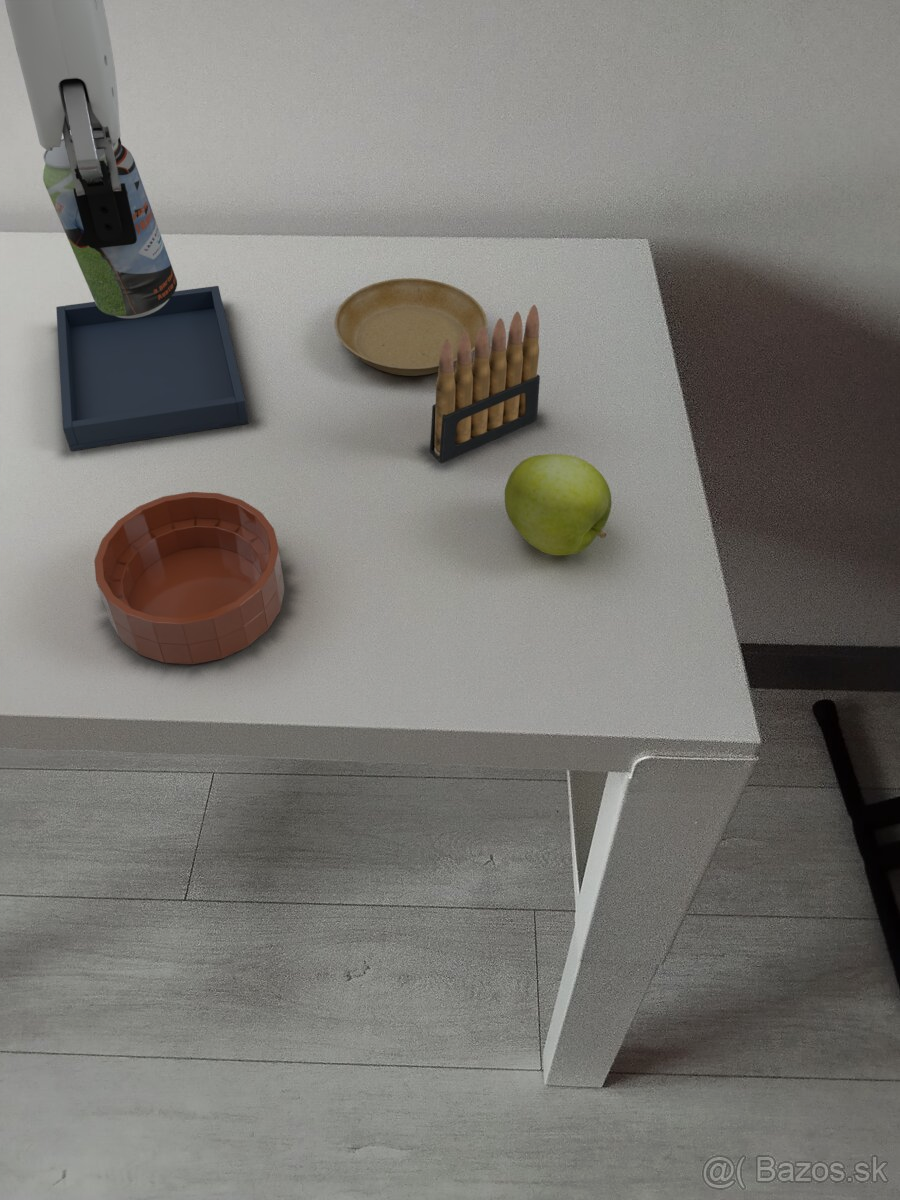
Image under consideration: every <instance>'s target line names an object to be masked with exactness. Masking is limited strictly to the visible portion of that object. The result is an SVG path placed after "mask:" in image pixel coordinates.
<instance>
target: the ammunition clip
mask: <svg viewBox="0 0 900 1200" xmlns="http://www.w3.org/2000/svg"><path fill="white" fill-rule="evenodd" d="M505 326H506V325H505V322H504V319H503V318H502V317H499V318H498V320H497V321H496V323H495V326H494V329H493V331H492V337H491V344H490V340H489V339H490V338H489V334H488V329H487V330H486V327H485V326H484V325H482V326H481V328H480V330H479V332H478V335H477V338H476V343H475V350H474V354H473V362H472V353H471V345H470V340H469V336H468V334H467V333H466V332H464V333H463V335H462V337H461V339H460V342H459V346H458V352H457V361H456V364H455V365H454V361H453V352H452V347H451V344H450V342H449V340H448V339H446V340H445V342H444V344H443V346H442V349H441V353H440V359H439V369H438V372H437V378H436V382H435V403H434V404H432V407H431V411H432V412H431V425H430V440H429V452H430V453H431V455H432V456H433V457H435V458H436V459H437V461H438V462H440V463H441V464H443V463H445V462H448V461H450V460H452V459H454V458H456V457H459V456H461V455H463V454H466V453H467V452H471V451H472V450H475V449H476V448H479V447H482V446H483V445H485V444H488V443H490V442H492V441H494V440H497V439H499V438H501V437H504V436H506V435H508V434H510V433H513V432H515V431H517V430H520V429H521V428H523V427H526V426H529V425H531V424H533V423H535V422H537V420H538V410H539V395H540V383H541V382H540V380H541V376H540V375H539V374H538V369H539V368H538V367H539V359H540V357H539V356H540V345H539V339H540V338H539V337H540V335H539V333H540V316H539V311H538V308H537V306H536V304H533V305H532V306H531V308H530V309H529V311H528V314H527V317H526V321H525V326H523V320H522V317H521V314H520V312H519V311H516V312H515V313H514V314H513V317H512V319H511V322H510V326H509V329H508V336H507V332H506V327H505ZM523 327H524V329H523ZM490 345H491V346H490ZM454 366H455V368H454Z"/></svg>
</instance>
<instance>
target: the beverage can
mask: <svg viewBox="0 0 900 1200" xmlns="http://www.w3.org/2000/svg"><path fill="white" fill-rule="evenodd" d="M93 132H94V137H95V138H98V137H104V136H103V131H93ZM71 138H72V135H71ZM113 150H114V155H115V160H116V165H117V169H118V174H119V179H120V184H121V183H125V186H126V191H127V195H128V200H129V204H130V208H131V213H132V217H133V222H134V226H135V231H136V236H137V241H136V243H134V244H131V245H122V246H113V247H104V248H95V249H93V248H90V247H89V246H88V244H87V240H86V237H85V233H84V229H83V225H82V222H81V218H80V214H79V210H78V207H77V203H76V199H75V195H74V189H73V188H75V185H74V181H73V177H72V172H71V168H70V163H69V159H68V155H67V150H66V148H65V141H64V137H63V138H61V144H60V147H53V149H52V151H48V150H46V149H45V151H44V153H43V154H42V155H43V157H42V158H43V161H44V163H45V164H44V168H43V175H42V181H43V183H44V186H45V189H46V191H47V193H48V195H49V198H50V201H51V203H52V206H53V207H54V210H55V212H56V214H57V216H58V220H59V222H60V224H61V226H62V229H63V231H64V234H65V235H66V238H67V240H68V242H69V246H70V247H71V249H72V252H73V254H74V257H75V259H76V261H77V264H78V266H79V268H80V271H81V273H82V275H83V277H84V278H83V279H84V280H85V283H86V284H87V287H88V289H89V291H90V294H91V296H92V298H93V302H95V303H96V306H97V307H98V309H99V310H101V311H102V312H104V313H106V314H109V315H113V316H117V317H120V318H138V317H143V316H146V315H149V314H151V313H154V312H155V311H157V310H159V309H160V308H162V307H163V306H164V305H165V304H166V303H167V302H168V300H169V298H170V297H171V296H172V295H173V294H174V292H175V291H177V288H178V280H177V277H176V274H175V271H174V268H173V266H172V263H171V259H170V257H169V254H168V251H167V248H166V246H165V242H164V240H163V237H162V233H161V232H160V229H159V227H158V224H157V220H156V218H155V215H154V212H153V209H152V206H151V204H150V201H149V198H148V195H147V192H146V189H145V187H144V184H143V181H142V178H141V175H140V172H139V168H138V166H137V163H136V161H135V159H134V156H133V154H132V153H131V151H130V150H129V149H128V148H127V147H126V146H125V145H123V144H122V143H121V144H120V143H119V142H118V141H117V142H116V143H115V144H113ZM97 152H98V155H99V159H100V161H103V160H104V161H105V163H106V166H107V162H106V157H105V152H104V149H97Z"/></svg>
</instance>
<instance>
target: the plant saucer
mask: <svg viewBox="0 0 900 1200" xmlns="http://www.w3.org/2000/svg"><path fill="white" fill-rule="evenodd" d="M333 325H334V331H335V333H336V336H337V337H338V339H339V341H340V343H342V345H343V346H344V347H345V348H346V349H347V350H348V351H349V352H350V353H351V354H352V355H353V356H354V357H356V358H357V359H359V360H360V361H361V362H362V363H365V364H367V365H368V366H370V367H373V368H374V369H377V370H379V371H382V372H384V373H387V374H391V375H395V376H396V375H397V376H406V377H407V376H408V377H414V376H416V377H418V376H426V375H431V374H435V373H438V369H439V359H440V353H441V349H442V346H443V344H444V342H445V340H446V339H448V340H449V342H450V344H451V347H452V352H453V361H454V366H456V361H457V352H458V346H459V342H460V339H461V337H462V335H463V333H464V332H466V333H467V334H468V336H469V340H470V345H471V354H472V353H473V352H475V343H476V338H477V335H478V332H479V330H480V328H481V326H482V325H484V326H485V327H486V330H487V331H488V318H487V314H486V312H485V310H484V308H483V307H482V306H481V304H480V303H479V302H478V300H476V299H475V298H474V297H473V296H471V295H470V294H469V293H467V292H465V291H464V290H462V289H460V288H458V287H456V286H454V285H451V284H449V283H445V282H442V281H437V280H433V279H427V278H420V277H419V278H417V277H416V278H415V277H411V278H410V277H408V278H405V277H403V278H393V279H386V280H382V281H378V282H374V283H372V284H368V285H366V286H364V287H362V288H360V289H358V290H357V291H355V292H353V293H352V294H351V295H349V296H347V298H346V299H345V300H344V301H342V302H341V304H340V305H339V307H338V308H337V310H336V313H335V316H334V324H333Z"/></svg>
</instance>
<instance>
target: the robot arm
mask: <svg viewBox="0 0 900 1200" xmlns="http://www.w3.org/2000/svg"><path fill="white" fill-rule="evenodd" d="M4 3H5V8H6V13H7V16H8V22H9V26H10V30H11V34H12V38H13V42H14V45H15V49H16V54H17V57H18V61H19V65H20V70H21V74H22V77H23V81H24V85H25V89H26V93H27V97H28V101H29V104H30V105H29V106H30V109H31V113H32V117H33V121H34V125H35V129H36V130H35V131H36V133H37V138H38V142H39V145H40V146H41V147H42V148H43V149H44V150H45V151H46V150H48V151H52V149H53V147H60V144H61V139H63V138H64V141H65V148H66V150H67V155H68V159H69V163H70V168H71V172H72V177H73V181H74V185H75V188H73V189H74V195H75V199H76V203H77V207H78V210H79V214H80V218H81V222H82V225H83V229H84V233H85V237H86V240H87V244H88V246H89V247H90V248H93V249H95V248H104V247H113V246H122V245H131V244H134V243H136V241H137V236H136V231H135V226H134V222H133V217H132V213H131V208H130V204H129V200H128V195H127V191H126V186H125V183H121V184H120V179H119V174H118V169H117V165H116V160H115V155H114V150H113V144H115V143H116V142H117V141H118V142H119V143H120V144H122V140H121V125H120V124H121V123H120V109H119V96H118V86H117V75H116V67H115V66H116V65H115V61H114V54H113V53H114V52H113V48H112V41H111V35H110V30H109V25H108V24H109V23H108V20H107V14H106V9H105V4H104V0H4ZM93 131H103V136H104V137H98V138H95V137H94V132H93ZM71 135H72V138H71ZM62 137H63V138H62ZM97 149H104V152H105V157H106V162H107V166H106V163H105V161H104V160H103V161H100V159H99V155H98V152H97Z"/></svg>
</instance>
